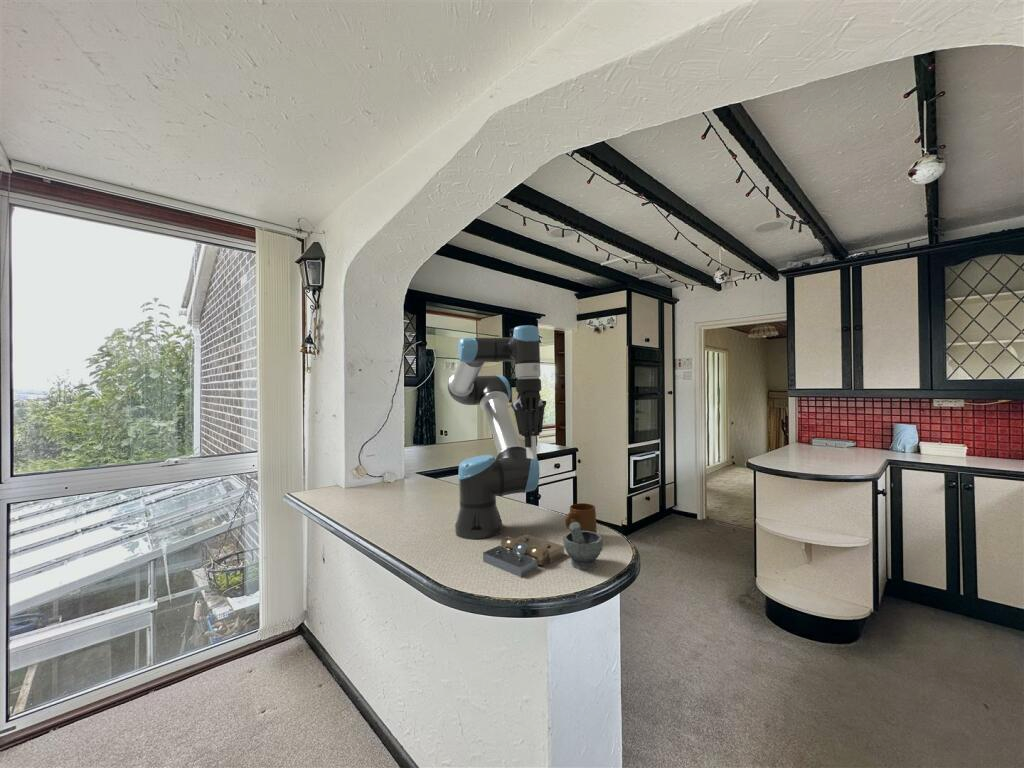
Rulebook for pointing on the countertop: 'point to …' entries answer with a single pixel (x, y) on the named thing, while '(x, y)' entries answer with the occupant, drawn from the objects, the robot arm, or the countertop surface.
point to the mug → (582, 516)
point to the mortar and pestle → (582, 547)
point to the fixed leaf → (536, 548)
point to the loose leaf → (511, 559)
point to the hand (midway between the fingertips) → (531, 458)
